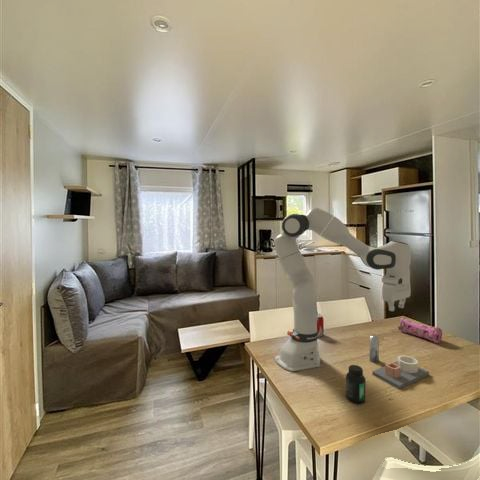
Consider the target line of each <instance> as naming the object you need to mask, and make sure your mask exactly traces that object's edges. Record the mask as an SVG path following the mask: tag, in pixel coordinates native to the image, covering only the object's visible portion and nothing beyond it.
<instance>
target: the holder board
mask: <svg viewBox="0 0 480 480" xmlns="http://www.w3.org/2000/svg"><path fill="white" fill-rule="evenodd" d="M371 372H372V373H371V375H372V376H374V377H376V378H378V379H379V380H381V381H383V382H385V383H387V384H388V385H390V386H393V387H394V388H396V389H398V390H401V389H403V388H405V387H407V386H410V385H411V384H413V383H416V382H418V381H420V380H422V379H424V378H427V376H429V375H430V371H428V370H426V369H424V368H422V367H419V361H418V360H417V358H415V357H413V356H412V357H411V356H408V355H398V356H397V361H395V362H391V361H390V362H388V363H386V364H384V366H382V367H379V368H377V369H374V370H372V371H371Z"/></svg>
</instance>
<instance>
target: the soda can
mask: <svg viewBox="0 0 480 480" xmlns="http://www.w3.org/2000/svg"><path fill="white" fill-rule="evenodd" d="M324 321H325V319H324V317H323V315H322V314H321V313H317V331H318V338H319V337H323V336H324V332H325V330H324V327H325V325H324V323H325V322H324Z"/></svg>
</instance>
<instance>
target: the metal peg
mask: <svg viewBox="0 0 480 480" xmlns="http://www.w3.org/2000/svg"><path fill="white" fill-rule="evenodd" d="M379 355H380V337H379V335H376V334H370V335H369V357H368V358H369V361H370V362H371V363H375V364H376V363H377V364H378V363H379V361H380V357H379Z"/></svg>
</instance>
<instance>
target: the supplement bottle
mask: <svg viewBox="0 0 480 480" xmlns="http://www.w3.org/2000/svg"><path fill="white" fill-rule="evenodd" d="M363 371H364V370H363V368H362V367H361V366H359V365H357V364H350V365H349V366H348V372H347V373H346V375H345V398H346V399H347V401H348V402H350V403H352V404H354V405H362V404H364V403H365V402H366V393H367V392H366V389H367V388H366V386H367V385H366V384H367V383H366V382H367V381H366V380H367V379H366V377H365V375H364V373H363Z"/></svg>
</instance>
